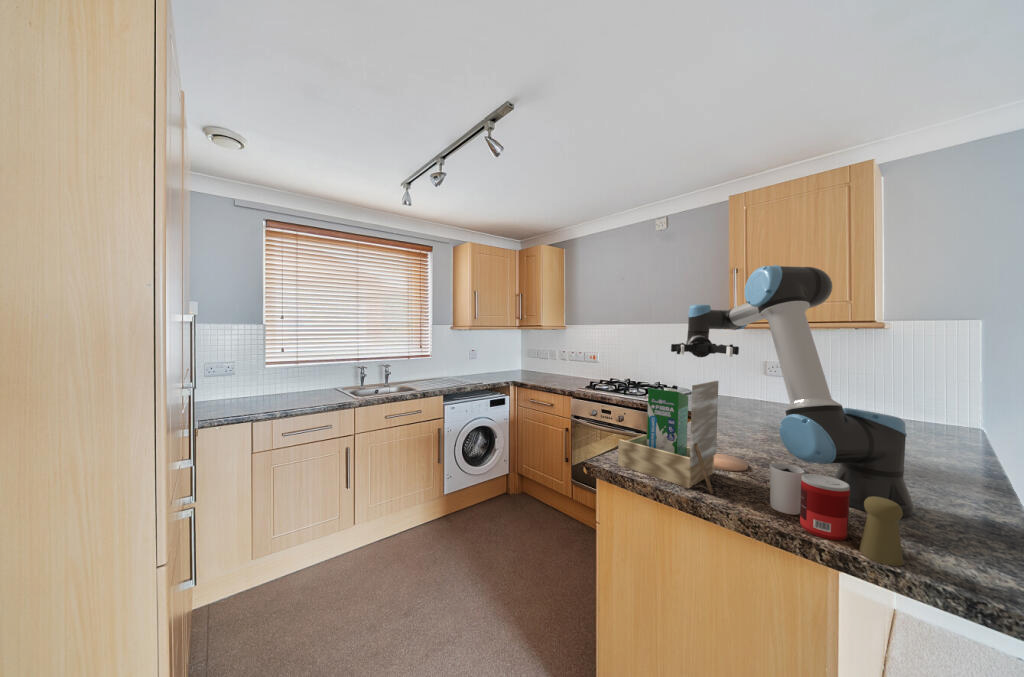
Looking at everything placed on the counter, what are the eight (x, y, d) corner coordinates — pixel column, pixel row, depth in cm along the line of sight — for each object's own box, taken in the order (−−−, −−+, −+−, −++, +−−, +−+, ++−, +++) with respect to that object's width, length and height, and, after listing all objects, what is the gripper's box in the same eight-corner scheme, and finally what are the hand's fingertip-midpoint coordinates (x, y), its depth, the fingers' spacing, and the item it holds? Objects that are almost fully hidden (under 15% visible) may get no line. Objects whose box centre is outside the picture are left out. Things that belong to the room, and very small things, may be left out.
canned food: (858, 542, 75) (860, 488, 75) (818, 540, 76) (820, 487, 75) (827, 522, 83) (828, 474, 83) (791, 521, 83) (792, 473, 83)
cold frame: (734, 479, 107) (737, 382, 106) (711, 496, 96) (715, 388, 95) (645, 454, 128) (647, 373, 127) (618, 465, 116) (620, 376, 116)
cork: (852, 551, 72) (854, 495, 72) (869, 544, 75) (871, 490, 74) (894, 569, 67) (896, 509, 66) (910, 561, 69) (912, 503, 69)
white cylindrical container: (763, 500, 93) (764, 461, 93) (793, 503, 92) (794, 464, 92) (776, 513, 87) (778, 471, 86) (808, 517, 85) (810, 474, 85)
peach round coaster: (753, 464, 119) (753, 461, 119) (739, 474, 110) (739, 470, 110) (710, 454, 129) (710, 450, 129) (694, 462, 120) (694, 458, 120)
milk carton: (686, 468, 115) (688, 388, 114) (676, 476, 108) (678, 391, 108) (657, 460, 121) (659, 385, 120) (645, 468, 114) (648, 387, 114)
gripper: (738, 358, 132) (752, 365, 112) (663, 354, 141) (663, 360, 122) (739, 337, 131) (753, 340, 112) (663, 335, 141) (664, 338, 121)
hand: (706, 351), depth 117 cm, fingers open, 13 cm apart
